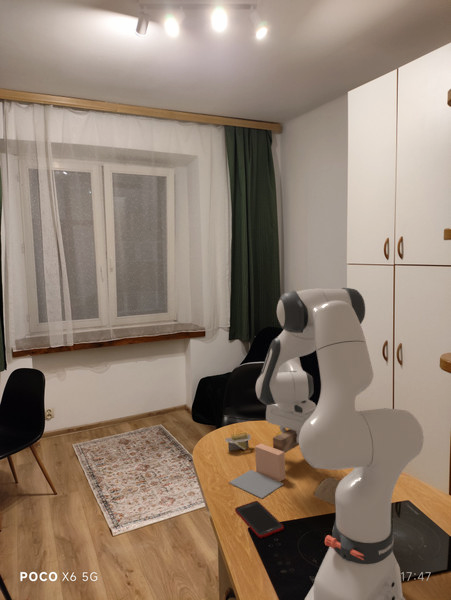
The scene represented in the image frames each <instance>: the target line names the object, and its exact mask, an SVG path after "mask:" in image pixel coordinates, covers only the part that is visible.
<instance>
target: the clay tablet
mask: <svg viewBox="0 0 451 600" xmlns="http://www.w3.org/2000/svg"><path fill="white" fill-rule="evenodd" d="M340 481H341V480H340V479H336V478H333V477H327V478H325V479H323V480H322V481H321V482H320V484H318V486H317V488H316V490H315V491H314V493H313V496H314V497H315V498H316V499H320V500H322V501H324V502H327V503H329V504H332V505H334V506H336V504H335V492H336V488H337V486H338V484H339V482H340Z"/></svg>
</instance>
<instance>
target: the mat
mask: <svg viewBox="0 0 451 600" xmlns="http://www.w3.org/2000/svg"><path fill="white" fill-rule="evenodd" d="M228 484H230V485H232V486H234V487H236V488H237V489H241V490H242V491H245V492H247V493H249V494H251V495H253V496H256V497H257V498H260V499H261V500H262V499H264V498H265V497H267V496H268V495H270V494H272V493H273V492H275V491H277V489H280V488H281V487H282V486H284V483H283V482H282V481H280V482H279V481H276V480H274V479H272V478H269V477H267V476H264V475H262V474H260V473H257V472H256V471H255V470H252V469H250V470H248V471H246V472H244V473H243V474H241V475H239V476H237V477H236V478H234V479H232V480H230V481H229V482H228Z"/></svg>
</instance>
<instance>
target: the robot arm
mask: <svg viewBox="0 0 451 600" xmlns="http://www.w3.org/2000/svg"><path fill="white" fill-rule="evenodd" d="M277 301H278V302H277V306H276V316H277V320H278V322H279V325H280V327H281V328H282V329H283V330H282V331H281V333H280V334H279V335H278V336H276V337H275V338H274V339H272V341H271V343H270V344H269V348H268V351H267V353H266V356H265V359H264V363H263V366H262V368H261V371H260V374H259V375H258V377H257V379H256V383H255V393H256V398H257V400H259V402H261V403H262V404H264V405H265V406H266V410H265V420H266V421H267V423H268V424H272V425H274V426H275V425H276V426H279V431H280V430H281V432H282V433H283V432H285V431H286V429H291V430H295V431H296V434H298V435H297V436H296V437H294V442H296V443H299V445H298V447H299V450H300V452H301V454H302V457H303V458H304V460H305V461H306V463H308V465H310V466H311V468H314V469H321V470H332V471H339V470H346V469H347V470H348V469H352V470H351V471H350V472H349V473H348V474H347V475H345V476H344V477H343V478H342V479H341V480H339V481H340V482H339V484H338V486H337V488H336V492H335V504H336V505H335V520H334V521H333V522H334V523H333V528H332V533H331V534H332V535H331V534H330V535H329V534H328V535H326V536H325V538H324V544H325V546H327V547H328V549H327V552H326V553H325V556H324V558H323V559H322V562H321V564H320V566H319V569H318V572H317V573H316V576H315V578H314V582H313V585H312V586H311V588H310V590H309V591H308V593H307V595H306V596H305V598H304V600H407V599H406V598H405V597H404V596H403V595H404V594H403V586H402V577H401V576H402V575H401V568H400V565H399V563H398V561H397V559H396V556H395V554H394V551H393V550H394V542H395V541H394V539H395V537H394V530H393V528H392V525H391V523H392V522H391V517H392V514H391V513H392V497H393V493H394V489H395V487H396V485H397V482H398V480H399V479H400V476H401V474H402V473H403V471H404V470H405V468H407V466H408V465H409V464H410V462H412V461H413V460H414V459H415V458H417V456H419V455H420V454H421V452H422V449H423V446H424V441H425V439H424V438H425V437H424V431H423V427H422V425H421V424H420V422H419V421H418V419H417V418H416V416H414V414H413V413H411V412H410V411H408V410H404V409H398V408H387V407H386V408H385V407H384V408H383V407H382V408H376V409H375V408H374V409H365V410H364V409H363V410H356V404H355V403H356V398H357V396H358V395H360V394H361V393H363V392H364V391H365V390H367V389H368V388H369V387H370V386H371V384H372V382H373V379H374V371H373V366H372V362H371V356H370V354H369V350H368V345H367V341H366V337H365V334H364V331H363V327H362V325H361V324H362V322H363V321H364V320H365V317H366V304H365V300H364V297H363V296H362V294H361V293H360V291H358V290H357V289H355V288H350V287H342V288H332V287H331V288H329V287H328V288H320V287H316V288H308V289H302V290H297V291H296V290H292V291H291V290H290V291H288V292H284V293H283V294H281V295H280V297H279V299H278V300H277ZM315 351H316V357H317V362H318V363H317V364H318V369H319V377H320V393H319V398H318V402H317V405H316V403H315V402H313V400H310V398H311V397H312V396H313V394H314V377H313V376H312V375H311V374H309V373H308V372H307V371H305V370H303V367H302V363H301V360H300V357H304V356H307V355H310V354H312V353H314V352H315Z"/></svg>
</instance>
